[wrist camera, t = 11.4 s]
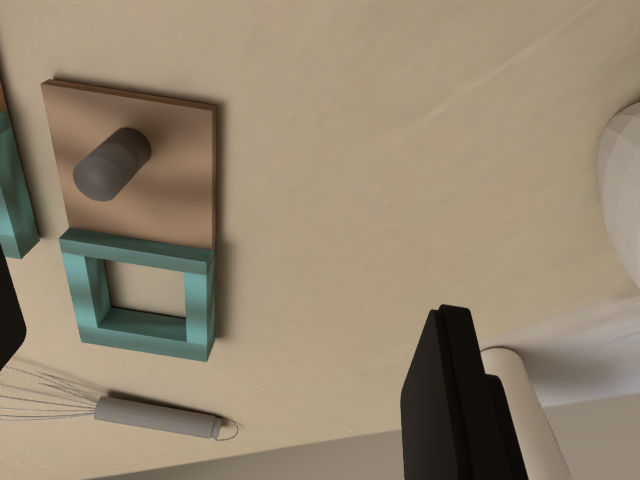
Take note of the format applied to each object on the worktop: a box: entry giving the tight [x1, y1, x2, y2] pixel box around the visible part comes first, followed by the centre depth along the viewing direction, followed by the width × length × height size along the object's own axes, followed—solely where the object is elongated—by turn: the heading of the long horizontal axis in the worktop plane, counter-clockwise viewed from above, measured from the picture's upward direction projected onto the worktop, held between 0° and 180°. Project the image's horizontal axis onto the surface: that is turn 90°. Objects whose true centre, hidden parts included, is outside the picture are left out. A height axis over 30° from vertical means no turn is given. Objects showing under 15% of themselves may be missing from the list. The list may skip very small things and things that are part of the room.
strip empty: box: [41, 79, 217, 362], centre depth 42 cm, size 26×13×7 cm, turn 173°
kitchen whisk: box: [0, 366, 238, 441], centre depth 57 cm, size 6×34×6 cm, turn 76°
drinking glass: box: [480, 348, 572, 480], centre depth 44 cm, size 7×7×15 cm
